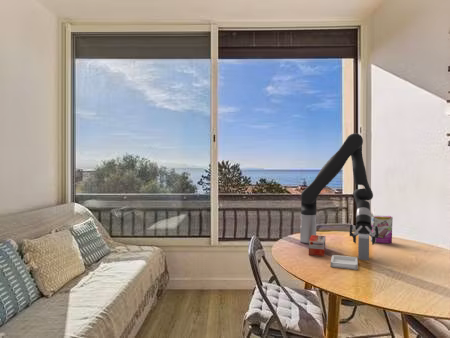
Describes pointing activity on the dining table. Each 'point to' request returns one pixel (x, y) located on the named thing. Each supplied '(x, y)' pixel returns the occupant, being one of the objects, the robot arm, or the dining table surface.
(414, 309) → the dining table surface
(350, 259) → the tray
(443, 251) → the dining table surface
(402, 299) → the dining table surface
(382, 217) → the candy bar box
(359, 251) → the tall grey carton
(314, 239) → the medicine box
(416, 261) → the dining table surface
